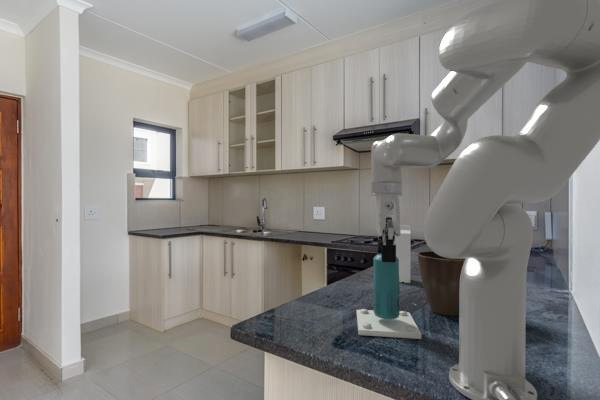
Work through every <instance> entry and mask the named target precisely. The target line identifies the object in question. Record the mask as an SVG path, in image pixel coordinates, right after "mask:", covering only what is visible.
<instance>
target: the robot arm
mask: <svg viewBox="0 0 600 400" xmlns="http://www.w3.org/2000/svg"><path fill="white" fill-rule="evenodd" d="M438 60H439V62H440V64H441V67H443V68H444V69H445V70H446V71H449V72H448V73H447V75H446V76H445V77H444V78H443V79H442V80H441V82H440V83H439V84H438V85H437V86H436V87H435V88H434V89H433V91H432V92H431V93H432V94H431V96H430V100H431V103H432V105H433V108H434V110H435V111H436V113H438V115H439V116H440V117H441V118H442V119H443V121H442V123H441V124H440V125H439V126H438V127H437V128H436V129H435V130H434V131H433V132H431V134H430V135H424V134H423V135H422V134H414V133H411V134H410V133H400V132H398V133H397V132H396V133H393V134H391V135H389V136H387V137H386V138H385V139H381V140H380V139H379V140H377V141H375V142H373V143H372V145H371V156H370V157H371V158H370V159H371V164H370V165H371V166H370V167H371V169H370V170H371V171H370V173H371V178H370V180H371V181H370V185H371V186H370V193H371V194H370V196H372V197H375V227H376V228H375V229H376V233H377V234H378V236H377V237H378V238H377V242H378V241H383V245H382V250H379V249H377V254H380V253H382V262H396V241H395V235H396V236H400V224H401V217H400V216H401V211H400V208H401V207H400V197H402V196H403V168H415V169H416V168H417V169H419V168H421V169H429V168H434V167H436V166H438V165H440V164H441V163H443V162H444V161H445V160H447V158H448V157H449V156H451V155H452V154H453V153H454V152H455V151H456V150H457V149H458V148H459V146H460V145H461V144H462V142H463V140H464V138H465V135H466V133H467V128H468V121H469V119H470V117H472V115H474V114H475V113H476V112H477V111H478V110H479V109H480V108H481V107H482V106H483V105H484V104H485V103H486V102H487V101H489V100H490V99H491V98H492V97H493V96H494V95H495V94H496V93H497V92H498V91H499V90H500V89H501V88H503V87H504V86H505V85H506V84H507V83H508V82H509V81H510V80H511V79H512V78H513V77H514V76H515V75H516V74H517V73H519V72H520V70H521V69H523V67H524V66H525V65H526V63H531V64H535V65H540V66H544V67H548V68H553V69H557V70H562V71H563V72H565V74H566V76H565V78H564V79H563V80H562V81H560V82H559V83H558V84H557V85H556V86H555V87H553V88H552V89H551V90H550V91H548V93H547V94H546V95H544V96H543V98H541V100H539V102H538V103H537V105H535V108H534V109H533V111H532V112H531V114H530V116H529V118H528V119H527V120H526V122H525V123H524V125H523V126H522V128H521V129H520V130H519V131H518V132H517V134H515V135H514V136H511V135H499V134H497V135H488V136H484V137H481V138H479V139H476V140H474V141H473V142H471V143H470V144H469V145H468V146H466V147H465V148H464V149H463V150H462V151H461V152H460V153H459V155H458V156H457V157H456V158H455V161H454V162H453V164H452V165H451V167H450V169H449V170H448V172H447V174H446V176H445V178H444V180H443V181H442V183H441V185H440V187H439V189H438V191H437V193H436V195H435V196H434V198H433V200H432V201H431V204H430V205H429V208H428V209H427V212H426V214H425V217H424V222H423V236H424V241H425V243H426V245H427V247H428V248H429V249H430V250H431V251H433V252H434V253H436V254H437V255H439V256H442V257H445V258H450V259H464V258H466V259H465V261H464V264H463V267H462V270H461V275H460V291H459V315H458V316H459V317H458V323H459V324H458V326H459V327H458V333H459V334H458V335H459V336H458V340H459V341H458V363H455V364H454V365H452V366H451V367H450V368H449V370H448V379H449V382H450V383H451V385H452V387H453V388H455V390H456V391H458V392H459V393H461V394H462V395H463V396H465V397H467V398H468V399H470V400H538V392H537V390H536V388H535V386H533V384H532V383H531V382H530V381H529V380H527V379H526V317H527V316H526V312H527V311H526V309H527V307H526V305H527V304H526V301H527V276H528V275H527V272H528V263H529V259H530V254H531V248H532V245H533V240H534V225H533V223H532V219H531V217H530V215H529V214H528V212H527V211H526V210H525V209H524V208H523V207H521V206H520V205H519V204H521V205H522V204H535V203H536V204H537V203H542V202H546V201H548V200H550V199H552V198H554V196H556V195H557V194H558V193H559V192H560V191H561V190H562V189H563V187H564V186H565V185H566V183H567V182H568V181H569V180H570V179H571V177H572V175H573V174H574V173H575V172H576V171H577V169H578V168H579V167H580V165H581V164H582V163H583V162H584V160H585V159H586V158H587V156H589V154H590V153H591V152H592V151H593V149H594V148H595V147H596V145H597V144H598V143H599V142H600V0H495V1H494V2H491V3H489V4H487V5H484V6H481V7H478V8H477V9H474V10H472V11H470V12H468V13H466V14H465V15H463V16H462V17H460V18H459V19H457V21H455V22H454V23H453V24H452V25H451V26H450V27H449V28H448V29H447V31H446V32H445V34H444V35H443V37H442V40H441V41H440V45H439V48H438Z"/></svg>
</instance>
